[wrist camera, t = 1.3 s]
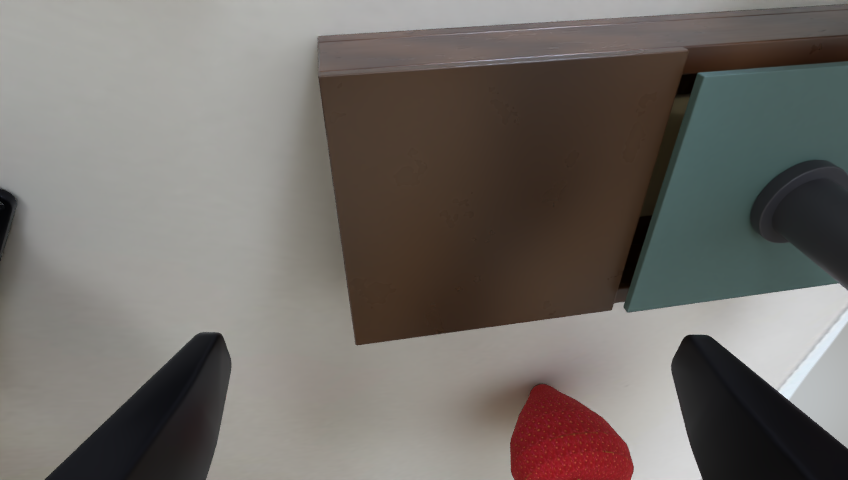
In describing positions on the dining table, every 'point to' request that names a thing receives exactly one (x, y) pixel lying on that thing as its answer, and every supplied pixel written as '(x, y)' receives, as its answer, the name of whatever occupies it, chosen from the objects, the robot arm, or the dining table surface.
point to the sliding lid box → (521, 155)
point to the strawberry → (565, 441)
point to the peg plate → (751, 190)
